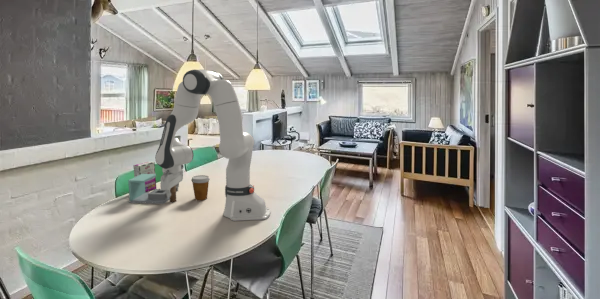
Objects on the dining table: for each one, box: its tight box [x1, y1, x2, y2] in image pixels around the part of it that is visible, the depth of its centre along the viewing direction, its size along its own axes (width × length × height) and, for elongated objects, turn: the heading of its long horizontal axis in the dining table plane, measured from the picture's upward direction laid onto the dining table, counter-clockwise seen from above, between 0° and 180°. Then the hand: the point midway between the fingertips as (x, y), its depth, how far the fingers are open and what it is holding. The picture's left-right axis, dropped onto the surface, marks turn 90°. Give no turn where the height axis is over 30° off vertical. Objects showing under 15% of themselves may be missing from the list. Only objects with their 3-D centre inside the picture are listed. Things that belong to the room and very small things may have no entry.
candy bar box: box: [132, 161, 157, 193], centre depth 185 cm, size 11×5×16 cm, turn 159°
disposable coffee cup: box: [191, 174, 211, 201], centre depth 174 cm, size 10×10×12 cm
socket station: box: [127, 173, 170, 205], centre depth 171 cm, size 18×14×12 cm
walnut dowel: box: [169, 185, 177, 203], centre depth 168 cm, size 3×3×11 cm
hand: (172, 193), depth 169 cm, fingers open, 8 cm apart
